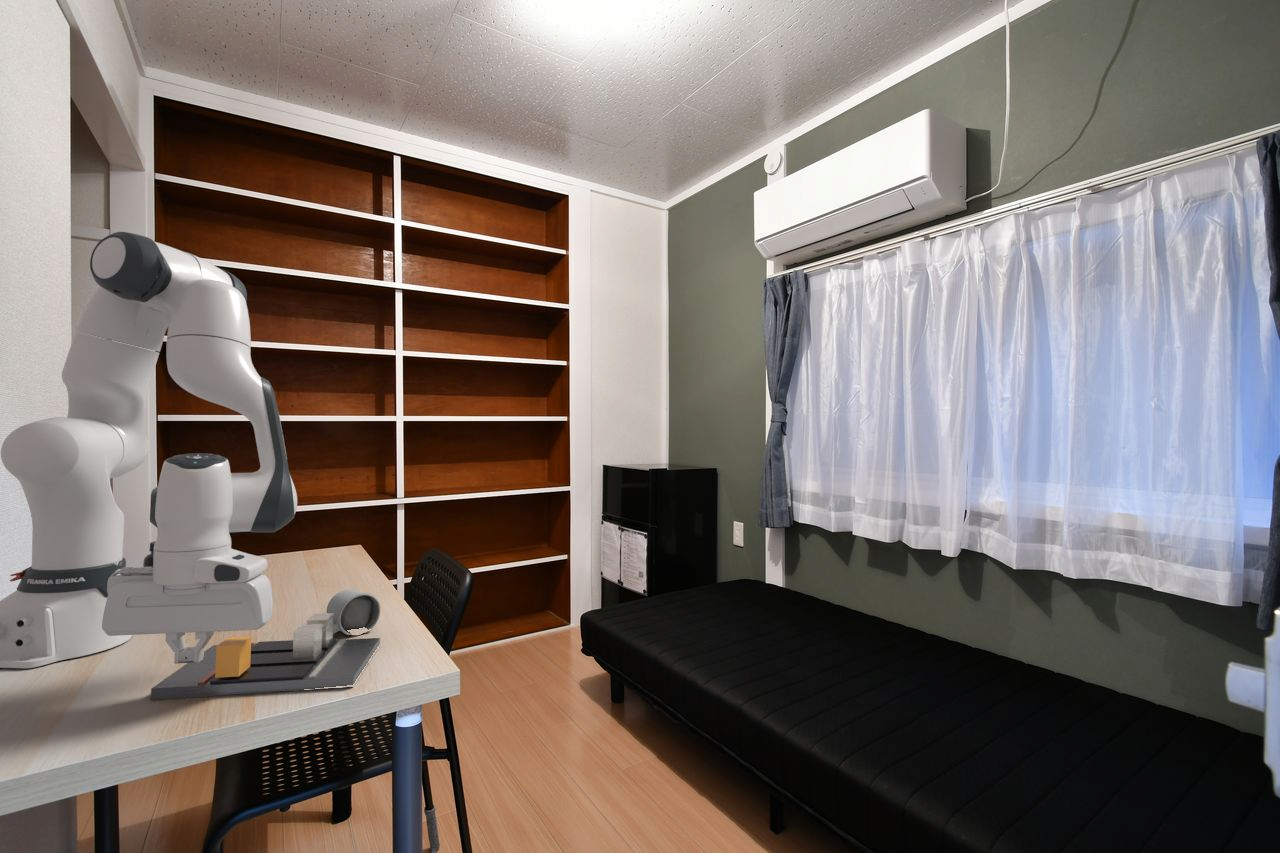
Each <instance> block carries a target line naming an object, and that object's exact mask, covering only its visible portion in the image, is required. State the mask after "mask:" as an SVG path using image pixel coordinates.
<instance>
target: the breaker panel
mask: <svg viewBox="0 0 1280 853" xmlns="http://www.w3.org/2000/svg"><path fill="white" fill-rule="evenodd" d="M333 616H334V613H327V612H325V613H314V614H312V615H311V617H309V618H308V619H307V620H306V624H301V625H300V626H299V627H298V628H297V629H296V630H295V631H294V632H293V637H292V638H293V639H292V640H291V639H290V640H271V641H269V640H267V641H258V642H256V643H254V642H251V660H250V667H249V668H248V669H247V670H246V671H244V672H243V673H242V674H241V675H240V676H238V677H219V678H215V669H216V646H217V645H218V644H215V645H214V644H213V645H211V646H210V647H209V648H207V649H206V650H204V658H203V659H202V660H201V661H200V662H197V663H185V664H184V665H182V666H181V667H180V668H179V669H177V670H176V671H174V672H173V673H171V674H170V675H169V676H167V677H165V678H164V679H162V680H161V681H160V682H159V683H157V684H155V685H154V686H153V687H151V689H150V700H151V701H154V700H155V701H157V700H170V699H171V700H174V699H176V700H177V699H188V698H189V699H191V698H207V697H220V696H221V697H223V696H239V695H255V694H272V692H274V693H281V692H280V691H290V692H295V691H294V690H304V689H315V688H324V687H336V686H347V685H353V684H354V683H355V681H356V679H357V678H358V676H359V675H360V673H361V672H362V670H363V669H364V667H365V666H366V664H367V663H368V661H369V659H370V658H371V656H372V655H373V653H374V652H375V650H376V649H377V647H378V646H379V644H380V645H381V637H372V638H371V637H370V638H352V639H351V638H349V639H348V638H340V639H337V638H336V637H335V638H334V634H333Z"/></svg>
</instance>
